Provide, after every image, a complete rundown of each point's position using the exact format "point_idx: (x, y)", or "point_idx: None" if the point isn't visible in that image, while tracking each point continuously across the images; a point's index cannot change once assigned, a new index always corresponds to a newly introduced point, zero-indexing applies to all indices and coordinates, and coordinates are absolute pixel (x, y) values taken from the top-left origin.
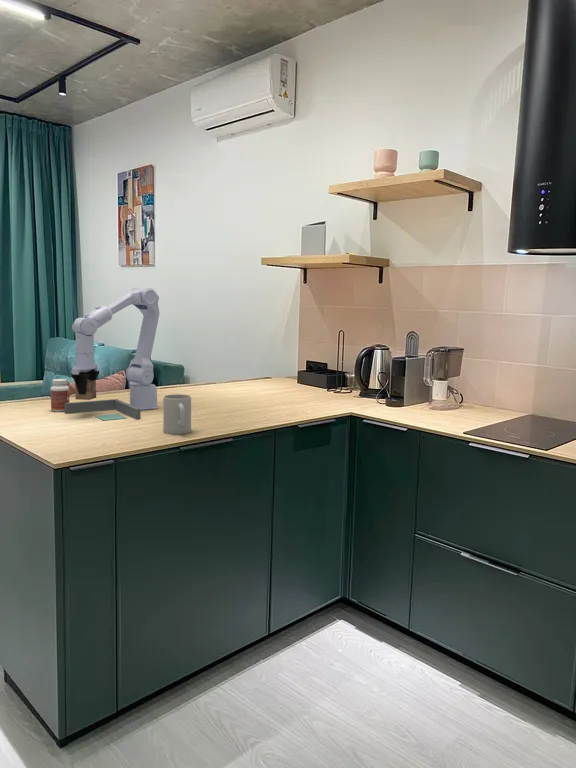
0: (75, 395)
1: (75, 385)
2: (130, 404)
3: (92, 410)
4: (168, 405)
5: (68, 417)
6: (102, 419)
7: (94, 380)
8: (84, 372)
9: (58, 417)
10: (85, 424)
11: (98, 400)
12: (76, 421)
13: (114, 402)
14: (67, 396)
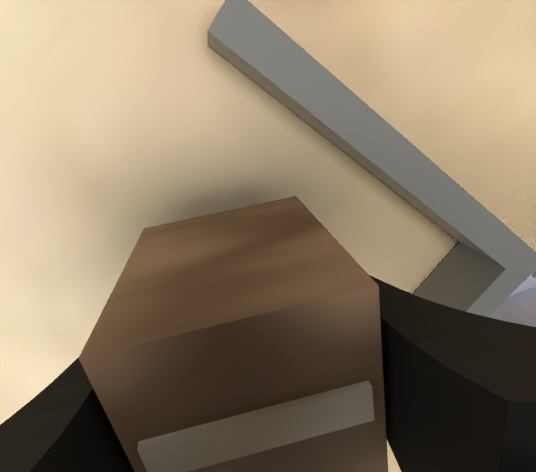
0: (136, 245)
1: (104, 319)
2: (505, 320)
3: (365, 167)
4: None
5: (112, 159)
6: None
7: (374, 468)
8: (501, 463)
9: (64, 91)
10: (24, 375)
11: (458, 188)
12: (49, 288)
13: (490, 261)
14: None
